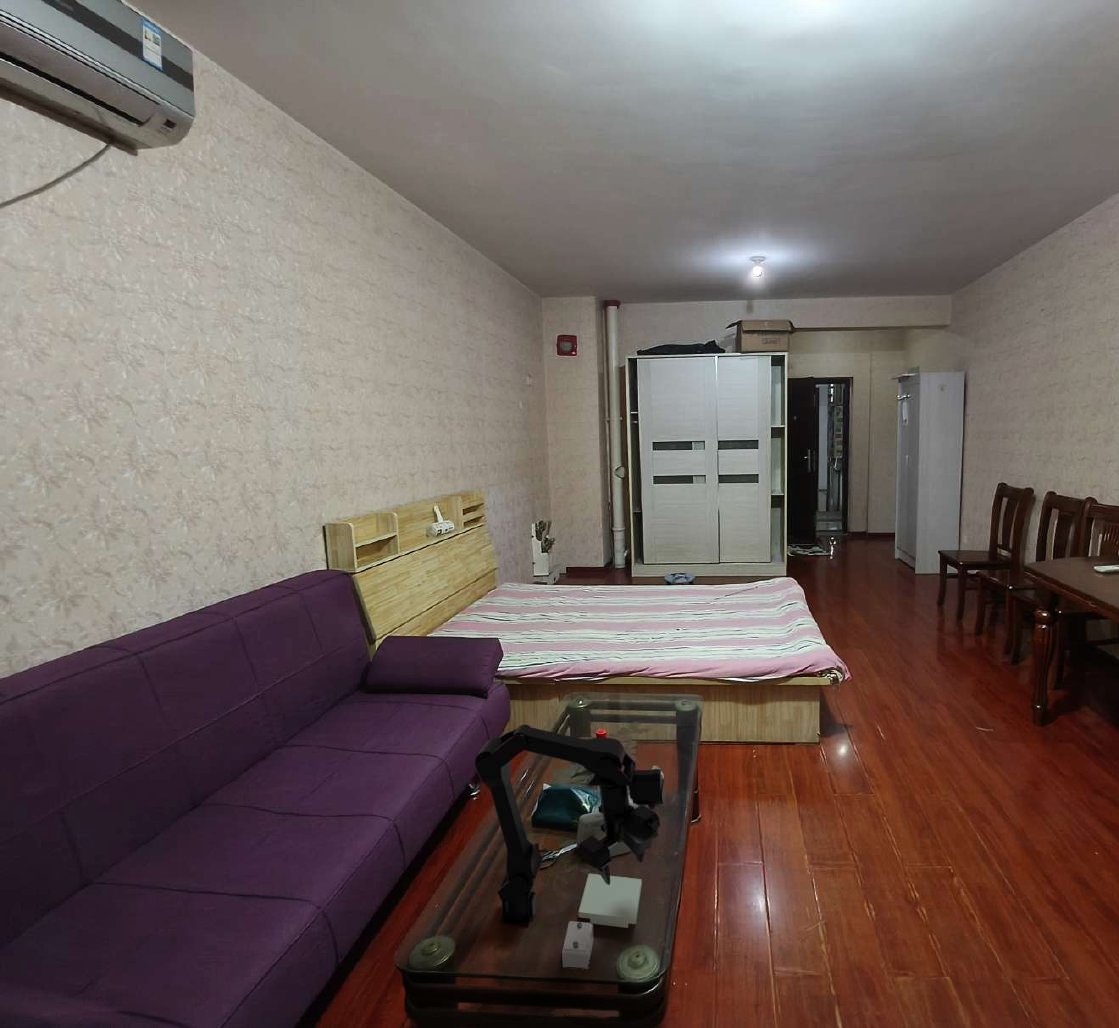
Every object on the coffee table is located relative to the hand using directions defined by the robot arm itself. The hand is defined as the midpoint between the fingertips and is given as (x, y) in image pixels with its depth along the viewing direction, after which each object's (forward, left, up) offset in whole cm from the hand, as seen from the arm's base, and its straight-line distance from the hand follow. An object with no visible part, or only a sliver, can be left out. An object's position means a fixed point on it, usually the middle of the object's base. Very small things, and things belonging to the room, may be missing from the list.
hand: (624, 872), depth 137 cm
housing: (-9, -8, -13) cm, 18 cm away
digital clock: (-8, +26, -13) cm, 30 cm away
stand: (-4, +4, -13) cm, 14 cm away
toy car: (-5, +48, -14) cm, 50 cm away
